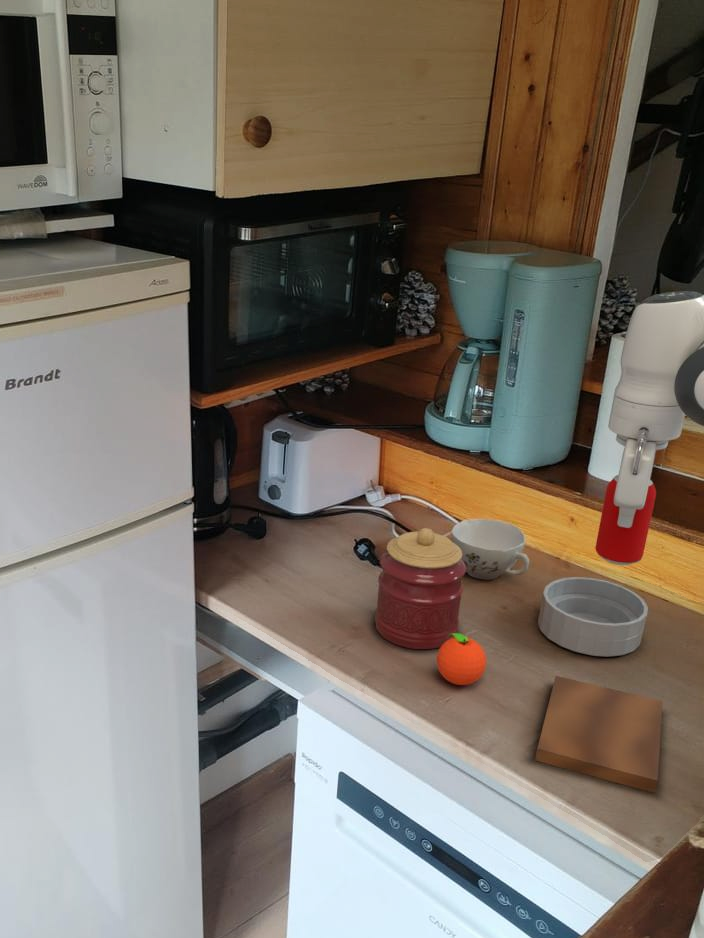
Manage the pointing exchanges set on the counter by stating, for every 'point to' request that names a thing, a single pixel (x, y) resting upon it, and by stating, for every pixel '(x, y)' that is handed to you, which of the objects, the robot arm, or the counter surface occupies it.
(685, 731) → the counter surface
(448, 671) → the clementine
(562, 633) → the grey round bowl
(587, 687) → the cutting board
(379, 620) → the kitchen canister
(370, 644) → the counter surface
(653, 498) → the beverage can
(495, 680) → the counter surface
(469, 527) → the teacup
